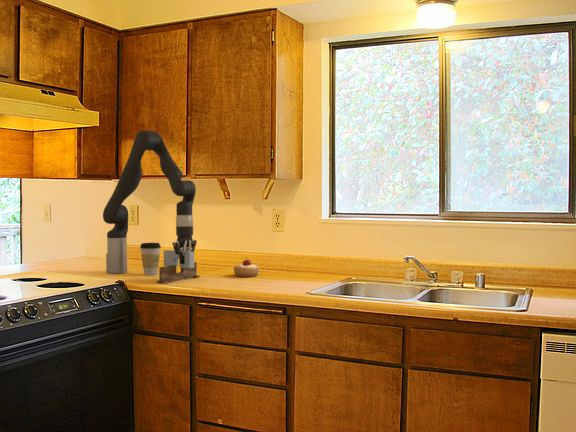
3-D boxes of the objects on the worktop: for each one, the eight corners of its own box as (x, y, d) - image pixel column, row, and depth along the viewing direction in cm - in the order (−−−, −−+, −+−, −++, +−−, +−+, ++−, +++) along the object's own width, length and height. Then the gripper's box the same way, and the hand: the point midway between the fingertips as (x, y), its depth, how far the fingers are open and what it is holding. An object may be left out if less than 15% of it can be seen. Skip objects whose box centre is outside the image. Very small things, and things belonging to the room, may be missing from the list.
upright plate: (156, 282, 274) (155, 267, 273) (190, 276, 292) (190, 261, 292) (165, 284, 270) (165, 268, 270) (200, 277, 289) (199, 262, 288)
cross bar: (163, 265, 284) (163, 250, 284) (168, 265, 286) (168, 249, 286) (189, 268, 275) (189, 252, 275) (194, 267, 277) (194, 251, 277)
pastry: (261, 275, 298) (262, 257, 298) (255, 278, 287) (256, 259, 286) (237, 274, 300) (237, 255, 300) (230, 277, 289) (231, 258, 288)
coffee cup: (165, 274, 298) (164, 243, 297) (146, 276, 291) (146, 244, 290) (154, 272, 305) (154, 242, 304) (136, 274, 299) (136, 243, 298)
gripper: (189, 223, 285) (189, 261, 286) (167, 225, 274) (167, 264, 275) (201, 224, 281) (201, 262, 282) (179, 226, 270) (180, 265, 271)
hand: (185, 263), depth 278 cm, fingers closed on cross bar, 3 cm apart
